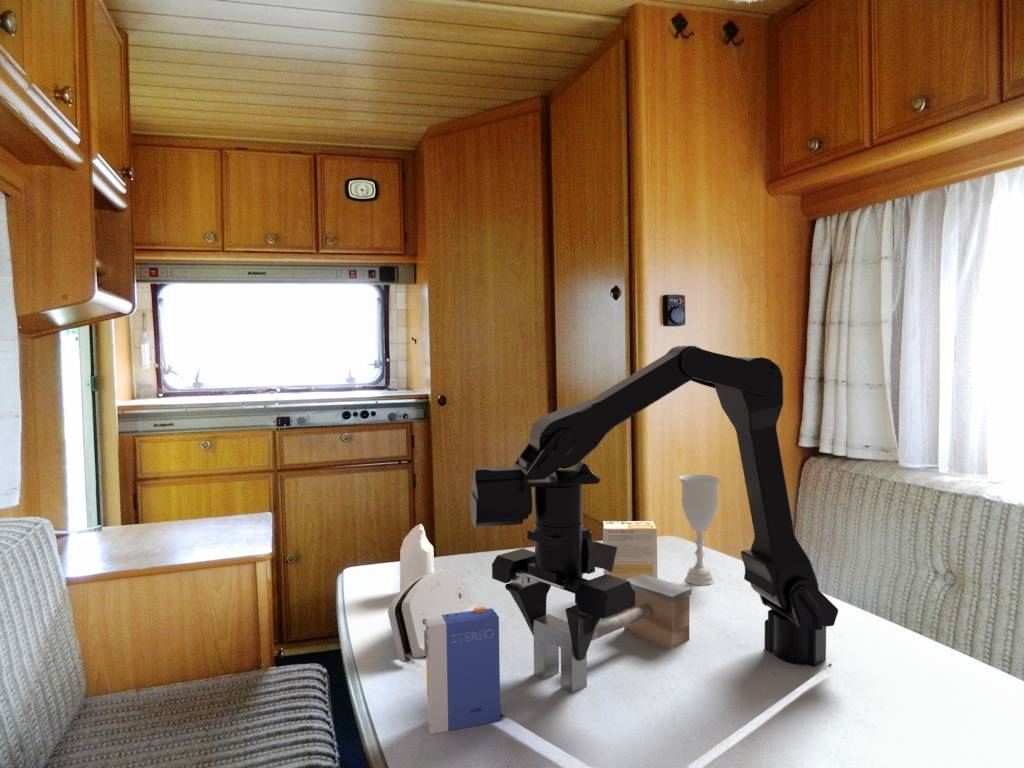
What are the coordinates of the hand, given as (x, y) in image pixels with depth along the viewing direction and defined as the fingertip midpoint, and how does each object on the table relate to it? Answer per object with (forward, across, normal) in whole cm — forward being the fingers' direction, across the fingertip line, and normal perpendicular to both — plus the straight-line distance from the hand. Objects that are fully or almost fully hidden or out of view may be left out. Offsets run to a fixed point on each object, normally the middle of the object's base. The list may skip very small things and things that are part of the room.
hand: (560, 650), depth 81 cm
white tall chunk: (+5, +38, -5) cm, 39 cm away
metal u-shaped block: (+4, 0, 0) cm, 4 cm away
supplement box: (+5, +11, -27) cm, 29 cm away
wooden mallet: (+5, 0, -12) cm, 13 cm away
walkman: (+5, +2, +13) cm, 14 cm away
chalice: (+5, +10, -45) cm, 46 cm away
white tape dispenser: (+5, +22, +2) cm, 23 cm away
